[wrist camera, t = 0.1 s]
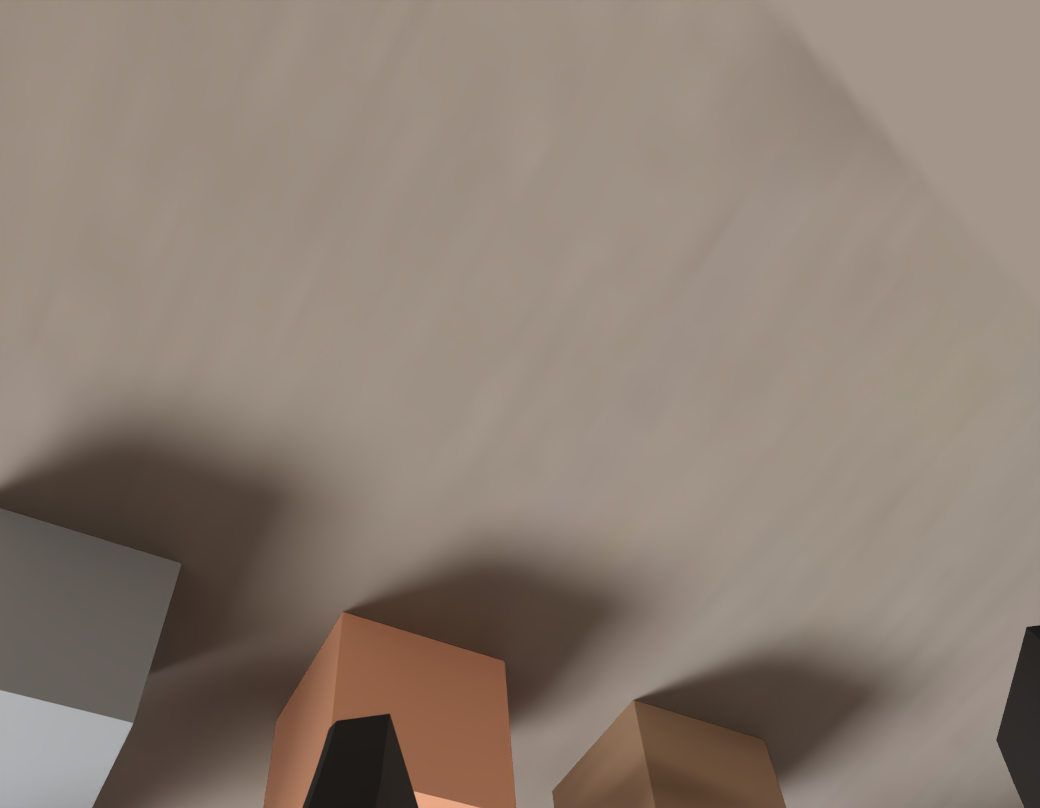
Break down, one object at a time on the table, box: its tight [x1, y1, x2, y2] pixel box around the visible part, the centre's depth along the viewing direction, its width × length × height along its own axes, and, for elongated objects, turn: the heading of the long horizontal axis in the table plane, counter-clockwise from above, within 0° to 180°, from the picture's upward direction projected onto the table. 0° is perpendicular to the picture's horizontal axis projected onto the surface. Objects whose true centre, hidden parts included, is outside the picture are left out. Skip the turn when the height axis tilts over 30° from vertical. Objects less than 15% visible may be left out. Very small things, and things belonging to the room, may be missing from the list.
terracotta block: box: [263, 612, 516, 808], centre depth 24 cm, size 4×4×4 cm
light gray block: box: [0, 508, 182, 808], centre depth 21 cm, size 4×4×4 cm
